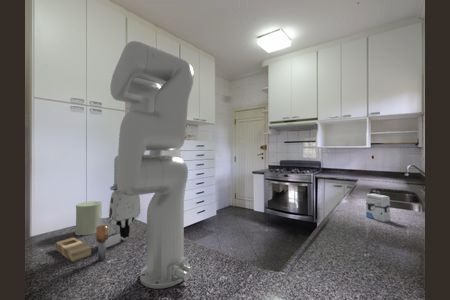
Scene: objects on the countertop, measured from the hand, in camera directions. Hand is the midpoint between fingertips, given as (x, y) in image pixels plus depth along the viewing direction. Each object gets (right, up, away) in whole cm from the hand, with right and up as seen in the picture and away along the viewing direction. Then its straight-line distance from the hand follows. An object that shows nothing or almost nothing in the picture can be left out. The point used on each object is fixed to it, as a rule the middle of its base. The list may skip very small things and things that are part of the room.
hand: (124, 236), depth 75 cm
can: (-19, -2, +9) cm, 21 cm away
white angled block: (-4, -1, -4) cm, 5 cm away
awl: (0, -1, -14) cm, 14 cm away
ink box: (+114, -2, +24) cm, 116 cm away
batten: (-12, -1, -9) cm, 15 cm away
